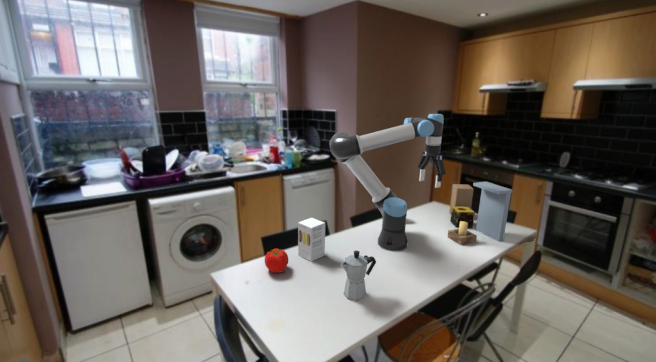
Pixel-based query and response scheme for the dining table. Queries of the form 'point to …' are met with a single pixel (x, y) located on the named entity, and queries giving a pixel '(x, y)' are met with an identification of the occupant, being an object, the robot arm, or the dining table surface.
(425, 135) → the robot arm
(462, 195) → the wooden block
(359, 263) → the coffee maker
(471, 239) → the socket block
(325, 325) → the dining table surface
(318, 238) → the supplement box
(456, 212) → the yellow black tissue box
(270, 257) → the tomato
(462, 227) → the peg
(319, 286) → the dining table surface
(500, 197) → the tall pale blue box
